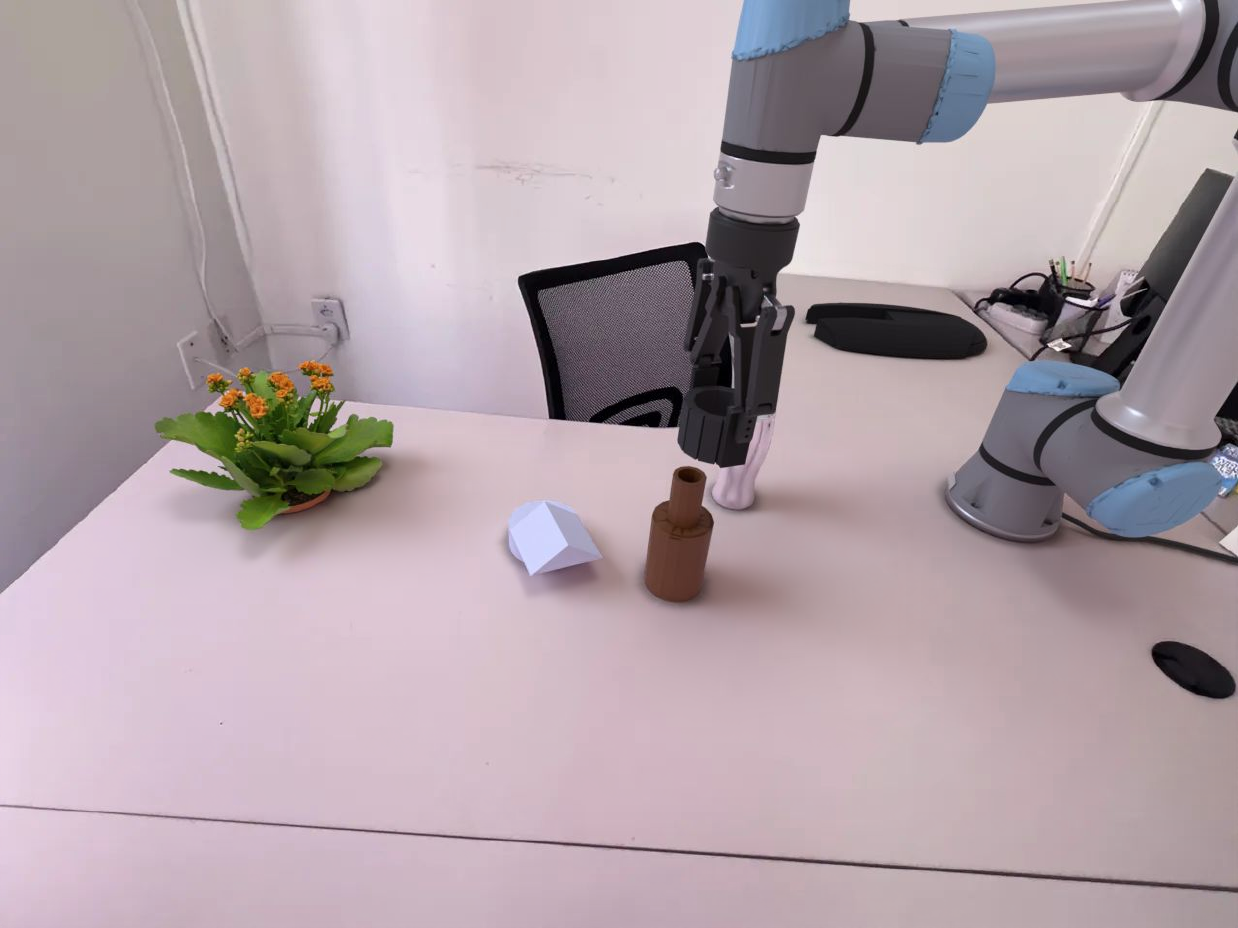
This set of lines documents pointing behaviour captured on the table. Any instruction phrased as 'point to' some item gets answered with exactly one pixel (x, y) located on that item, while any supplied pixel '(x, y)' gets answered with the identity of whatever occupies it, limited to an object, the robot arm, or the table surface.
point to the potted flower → (279, 443)
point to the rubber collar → (704, 421)
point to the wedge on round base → (549, 537)
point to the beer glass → (745, 469)
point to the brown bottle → (679, 539)
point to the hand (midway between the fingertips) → (713, 442)
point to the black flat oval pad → (895, 330)
